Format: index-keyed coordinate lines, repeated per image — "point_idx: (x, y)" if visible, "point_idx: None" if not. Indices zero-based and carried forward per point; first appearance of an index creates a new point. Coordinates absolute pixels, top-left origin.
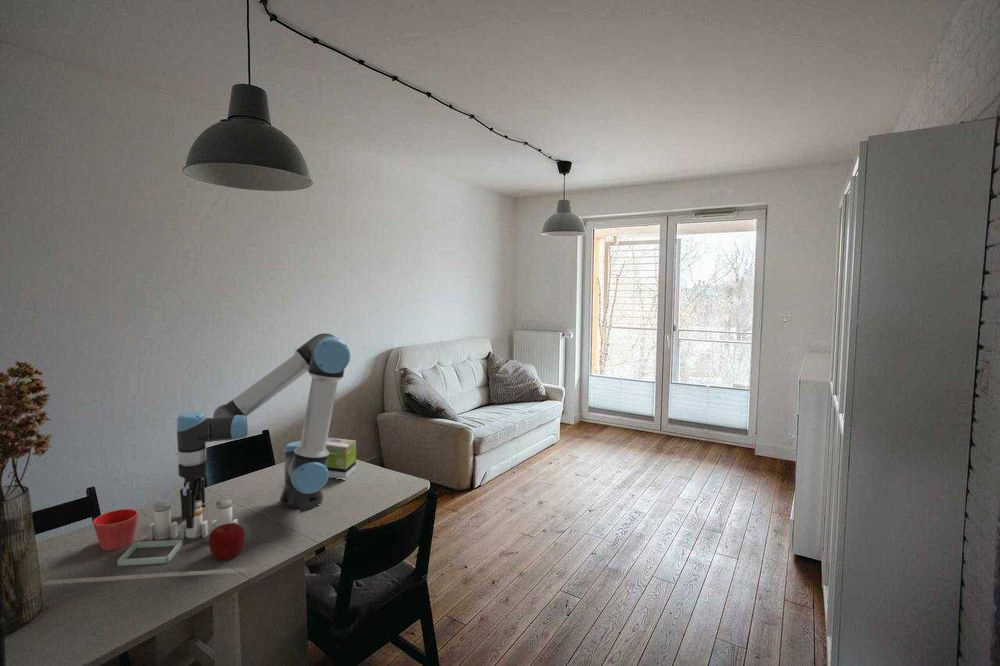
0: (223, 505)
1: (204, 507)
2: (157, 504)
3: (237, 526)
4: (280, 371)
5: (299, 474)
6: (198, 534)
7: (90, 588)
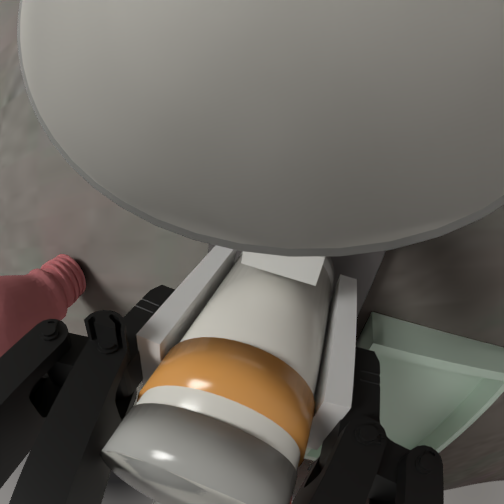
0: None
1: (123, 321)
2: None
3: None
4: None
5: None
6: (325, 263)
7: (465, 464)
